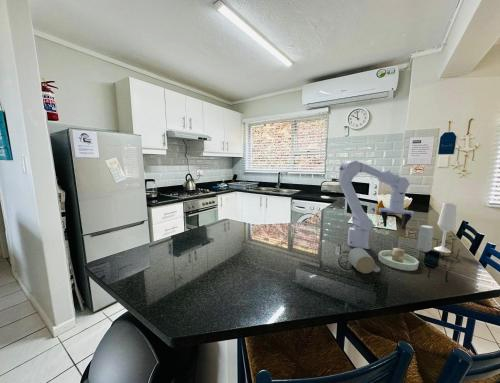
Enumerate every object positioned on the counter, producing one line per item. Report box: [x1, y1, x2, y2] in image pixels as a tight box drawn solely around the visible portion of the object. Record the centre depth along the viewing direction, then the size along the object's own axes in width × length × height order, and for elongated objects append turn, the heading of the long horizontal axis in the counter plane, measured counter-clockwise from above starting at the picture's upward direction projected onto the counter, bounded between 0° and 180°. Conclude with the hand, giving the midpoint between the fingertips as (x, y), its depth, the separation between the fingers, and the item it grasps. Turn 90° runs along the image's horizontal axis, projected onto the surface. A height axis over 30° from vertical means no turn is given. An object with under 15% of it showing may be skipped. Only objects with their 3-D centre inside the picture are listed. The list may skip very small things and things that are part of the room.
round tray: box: [377, 249, 420, 272], centre depth 91 cm, size 14×14×3 cm
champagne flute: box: [433, 202, 457, 254], centre depth 107 cm, size 7×7×24 cm
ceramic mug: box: [347, 247, 381, 275], centre depth 84 cm, size 11×8×8 cm
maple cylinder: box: [392, 247, 405, 263], centre depth 91 cm, size 4×4×5 cm
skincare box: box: [416, 224, 435, 253], centre depth 107 cm, size 6×4×12 cm
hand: (393, 227), depth 108 cm, fingers open, 7 cm apart
